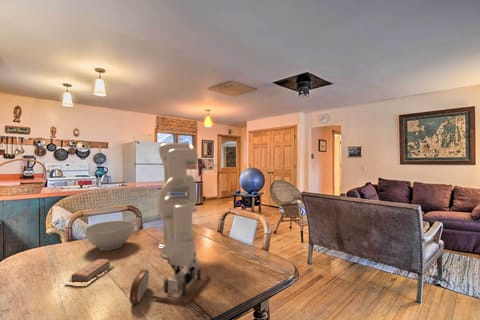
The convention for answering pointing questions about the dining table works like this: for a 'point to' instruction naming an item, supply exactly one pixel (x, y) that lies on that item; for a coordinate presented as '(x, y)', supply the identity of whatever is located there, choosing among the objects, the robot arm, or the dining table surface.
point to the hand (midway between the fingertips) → (183, 280)
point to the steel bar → (179, 281)
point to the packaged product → (91, 271)
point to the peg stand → (183, 290)
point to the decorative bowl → (110, 233)
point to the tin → (139, 286)
